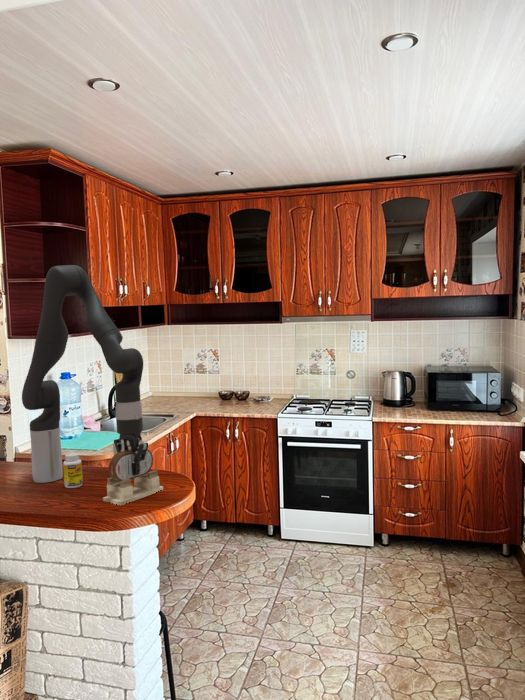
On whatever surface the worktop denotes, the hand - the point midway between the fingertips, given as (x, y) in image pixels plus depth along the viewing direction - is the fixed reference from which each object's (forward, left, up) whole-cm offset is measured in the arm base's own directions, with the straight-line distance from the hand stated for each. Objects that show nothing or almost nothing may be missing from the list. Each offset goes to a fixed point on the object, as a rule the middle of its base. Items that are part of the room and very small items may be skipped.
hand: (132, 473), depth 157 cm
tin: (0, 0, -1) cm, 1 cm away
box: (-20, +12, -7) cm, 24 cm away
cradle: (0, 0, -6) cm, 6 cm away
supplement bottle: (-25, -4, -7) cm, 26 cm away
